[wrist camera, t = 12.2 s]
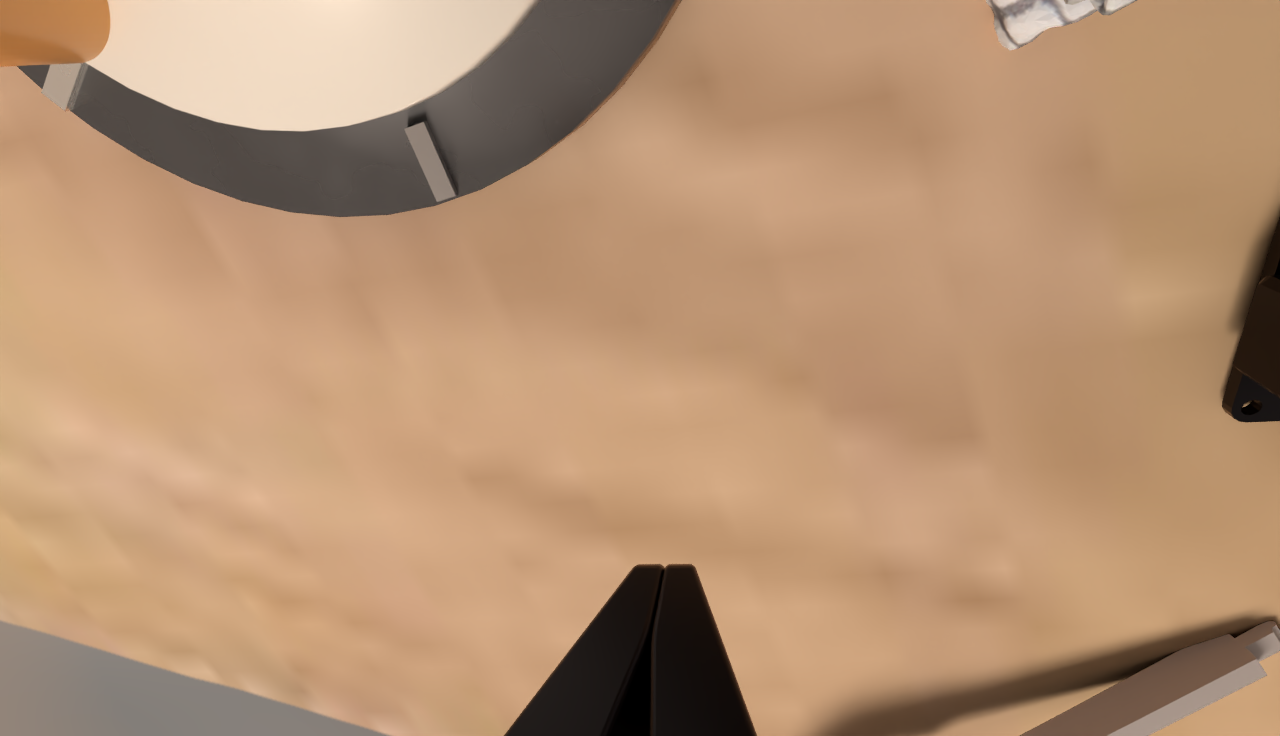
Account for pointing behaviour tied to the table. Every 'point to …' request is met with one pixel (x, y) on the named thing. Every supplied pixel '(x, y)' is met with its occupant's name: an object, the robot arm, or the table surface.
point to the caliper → (1170, 687)
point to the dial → (268, 52)
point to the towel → (1042, 16)
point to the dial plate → (392, 120)
